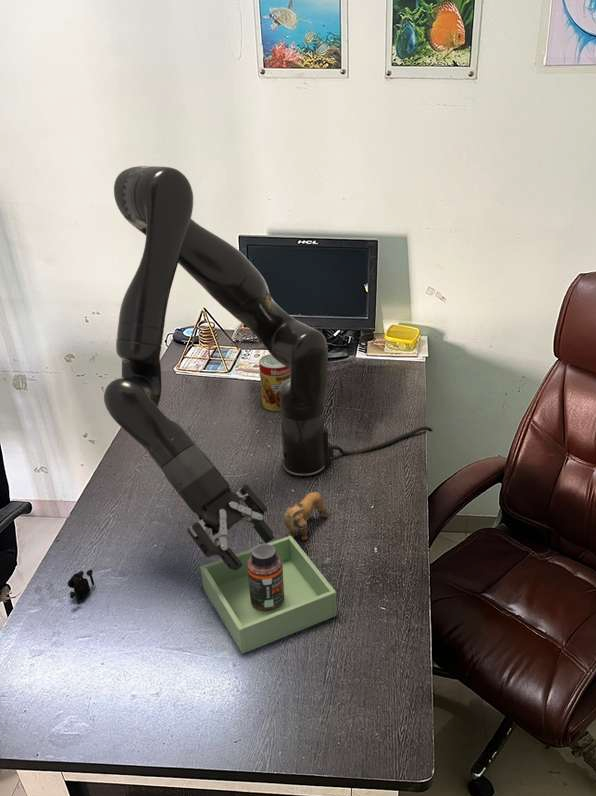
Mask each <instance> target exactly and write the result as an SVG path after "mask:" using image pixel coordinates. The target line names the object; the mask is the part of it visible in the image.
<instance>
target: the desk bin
mask: <svg viewBox="0 0 596 796" xmlns="http://www.w3.org/2000/svg"><path fill="white" fill-rule="evenodd" d="M267 544H269V545H272V546H273V547H274V548H275V550H276V554H277V555H278V556H279V557H280V558H281V560H282V567H283V584H284V600H283V602H282V604H281V605H280V606H279V607H277V608H275V609H272V610H260V609H257V608H256V607H254V606H253V605H252V603H251V599H250V590H249V579H248V569H247V563H248V560H249V559H250V557H251V556H252V549H253V548H250V549H247V550H243V551H241V552H238V553H236V554H235V553H234V554H235V555H236V556H237V558H238V559H239V560H240V561H241V563H242V567H240V568H239V569H238V570H236V571H235V570H233V569H230V568H228V566H227V565H226V564H225V563H224V561H223V560H222V559H221V558H220V559H218V560H216V561H212V562H209V563H206V564H204V565H200V574H201V581H202V586H203V591H204V592H205V594H206V596H207V598H208V599H209V601H210V602H211V604H212V606H213V608H214V609H215V611H216V613H217V614H218V616H219V618H220V620H221V621H222V622H223V625H224V626H225V627H226V630H227V631H228V633H229V634H230V636H231V638H232V640H233V641H234V643H235V645H236V647H237V648H238V649H239V651H240V653H241V654H242V655H244V654H246V653H248V652H251V651H253V650H255V649H258V648H260V647H263V646H265V645H268V644H271V643H273V642H275V641H278V640H280V639H283V638H285V637H288V636H290V635H293V634H295V633H298V632H300V631H303V630H305V629H308V628H310V627H312V626H315V625H318V624H320V623H322V622H325V621H327V620H329V619H332V618H335V617H337V591H336V590H335V589H334V587H333V586H332V585H331V584H330V582H329V581H328V580H327V579H326V577H325V576H324V575H323V574H322V572H321V571H320V570H319V569H318V568H317V566H316V565H315V563H314V562H313V561H312V560H311V559H310V557H309V556H308V555H307V554H306V552H305V551H304V550H303V548H301V546H300V545H299V544H298V542H297V541H296V539H294V538H293V537H292V536H285V537H282V538H280V539H277V540H274V541H273V540H272V541H270V542H268V543H267Z"/></svg>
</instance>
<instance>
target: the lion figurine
mask: <svg viewBox="0 0 596 796" xmlns="http://www.w3.org/2000/svg"><path fill="white" fill-rule="evenodd" d="M315 509H316V510H317V511H320V512H322V513H321V515H320V516H321V518H327V517H328V511H327V510H328V509H327V506H326V505H325V504H324V501H323V497H322V495H321V494H320V492H318V491H312V492H308V493H307V494H306V495H305V496H304V498H303V499H302V500H301V501H300V502H299V503H298V502H297V503H294V504H292V505H289V506H288V507H286V510H285V511H284V516H283V522H284V526H285V527H286V529H288V530H289V532H290V533H288V536H292V537H293V539H294V538H295V536H296V532H299V531H301V532H300V536H301V537H300V540H301V541H307V540H308V534H307V528H308V522H307V521H308V520H310V517H311V515H312V513H313V511H314V510H315ZM288 536H287V537H288Z"/></svg>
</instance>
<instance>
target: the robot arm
mask: <svg viewBox="0 0 596 796" xmlns="http://www.w3.org/2000/svg"><path fill="white" fill-rule="evenodd" d="M113 196H114V201H115V203H116V206H117V208H118V210H119V212H120V214H121V215H122V216H123V218H124V219H125V220H126V221H127V222H128V223H129V224H130V225H131V226H133V227H134V228H135V229H137V231H139V232H141V233H142V234H143V235H144V236H145V243H144V248H143V253H142V256H141V259H140V262H139V265H138V267H137V269H136V271H135V274H134V275H133V278H132V279H131V281H130V283H129V285H128V287H127V289H126V291H125V293H124V296H123V298H122V302H121V305H120V309H119V315H118V321H117V322H118V323H117V332H116V340H115V350H116V354H117V357H119V358H120V359H121V377H119V378H115V379H114V380H112V381H110V382H109V383H108V384H107V386H106V387H105V389H104V393H103V401H104V407H105V409H106V410H107V412H108V414H109V415H110V416H111V418H112V419H113V421H115V423H116V424H117V425H118V426H119V427H120V428H121V429H122V430H124V431H125V432H126V433H127V434H128V435H129V436H130V437H131V438H132V439H133V440H134V441H136V442H137V443H138V444H140V446H142V447H143V448H144V449H145V451H146V452H147V453H148V455H149V456H150V457H151V459H152V460H153V461H154V462H155V463H156V465H157V466H158V467H159V469H160V470H161V472H162V473H163V474H164V476H165V478H166V479H167V481H168V483H169V484H170V485H171V486H172V488H173V489H174V490H175V491H176V492H177V494H178V496H179V497H180V498H181V499H182V500H183V502H184V503H185V504H186V505H187V507H188V508H189V509H190V510H191V511H192V513H194V514H195V515H196V516H197V517H198V520H199V521H196V522H193V524H191V525H190V526H188V527H187V529H186V531H187V533H188V534H189V536H190V537H191V538H192V540H193V541H194V543H195V544H196V545H197V547H198V549H199V550H200V551H201V552H202V554H203V556H205V557H206V558H211V557H213V556H218V557H220V560H221V559H222V560H223V561H224V563H225V564H226V565H227V566H228V568H230V569H233V570H235V571H236V570H238V569H239V568H240V567H242V563H241V561H240V560H239V559H238V558H237V556H236V555H235V553H234V551H233V550H232V549H231V548H230V547H228V539H227V537H228V535H229V534H228V533H229V532H228V531H229V530H231V528H233V527H234V525H236V524H238V522H240V523H243V522H245V523H248V524H250V525H253V526H252V527H253V529H254V530H255V532H256V533H257V534H258V535H259V537H260V538H261V540H262V541H263V542H264V544H268V543H270V542H272V541H273V540H274V539H275V536H274V532H273V530H272V528H270V526H269V525H268V524H267V523H266V521H265V520H264V515H265V513H266V512H267V511H268V507H267V506H266V505H265V504H264V502H263V500H261V499H260V498H259V496H258V495H257V494H256V493H255V491H253V489H252V488H251V486H249V485H248V484H244V485H242V486H240V487H239V488H238V489H237V490H236V492H234V491H232V489H231V488H230V484H229V482H228V481H227V479H225V477H224V475H222V474H221V472H220V471H219V470H218V469H217V467H216V466H215V465H214V463H213V462H212V461H211V459H210V458H209V457H208V455H207V454H206V453H205V452H204V451H203V450H202V449H201V448H200V447H199V446H198V445H197V444H196V442H194V440H193V439H192V437H191V436H190V435H189V433H188V432H187V431H186V430H185V429H184V427H183V426H182V425H181V424H180V423H179V422H178V421H176V420H174V419H172V418H170V417H167V415H165V413H164V412H162V410H161V409H160V408H159V404H160V401H161V397H162V366H161V365H162V364H161V352H162V349H163V348H162V347H163V346H162V345H163V340H164V332H165V325H166V315H167V309H168V303H169V299H170V294H171V289H172V286H173V283H174V279H175V275H176V272H177V268H178V265H180V266H181V267H182V269H183V270H184V271H185V272H186V273H187V274H188V275H190V277H192V278H193V279H194V280H195V282H197V283H198V284H199V285H200V287H202V288H203V289H204V290H205V291H206V293H208V294H209V296H211V297H212V298H213V299H214V300H215V301H216V302H217V303H218V304H219V305H220V306H221V307H222V308H223V309H224V310H226V312H228V313H229V314H230V315H232V316H233V317H234V318H235V319H236V320H238V321H239V322H240V323H241V324H242V325H244V326H246V328H248V329H249V330H250V331H251V332H252V333H253V334H254V335H255V337H256V338H257V339H258V341H260V342H261V344H262V345H263V347H264V348H265V349H266V351H268V354H271V355H272V356H273V357H274V358H275V359H276V360H277V361H278V362H280V363H281V364H283V365H285V366H287V367H289V368H290V370H291V378H290V379H287V380H285V381H284V382H283V383H282V384H281V385H280V388H279V398H280V411H279V413H280V425H281V426H280V427H281V442H282V449H281V455H282V461H283V462H282V465H283V466H282V467H283V470H284V471H285V472H286V473H287V474H289V475H291V476H294V477H299V478H307V477H308V478H309V477H313V476H317V475H319V474H320V473H322V472H323V471H324V470H325V468H328V467H329V466H330V465H329V464H330V462H329V459H331V458H334V450H337V451H339V453H340V454H341V455H344V456H353V455H360V454H365V453H368V452H371V451H374V450H377V449H378V450H379V449H381V448H384V447H387V446H389V445H391V444H394V443H396V442H398V441H400V440H402V439H405V438H408V437H410V436H413V435H414V434H417V433H419V432H421V431H428V432H430V433H431V432H433V428H432V427H429V426H420V427H417V428H415V429H413V430H411V431H408V432H407V433H404V434H401V435H399V436H396V437H394V438H392V439H390V440H387V441H385V442H382V443H379V444H378V443H377V444H375V445H372V446H368V447H366V448H363V449H359V450H353V451H347V450H344V449H343V447H341V446H339V445H335V444H332V443H331V442H330V441H329V430H328V428H327V427H325V411H324V409H325V407H324V403H325V401H324V393H325V392H324V391H325V389H326V386H327V383H328V382H327V381H328V366H329V365H328V362H329V361H328V360H329V348H328V341H327V339H326V336H325V335H324V334H323V333H322V332H320V331H319V330H318V329H316V328H313V327H312V326H310V325H308V324H306V323H303V322H301V321H299V320H297V319H296V318H295V317H292V316H291V315H290V314H289V313H287V311H285V310H284V309H283V308H282V307H280V306H279V304H278V303H277V302H275V300H274V299H273V297H272V295H271V293H270V289H269V285H268V284H267V282H266V279H265V278H264V277H263V275H262V274H261V272H260V271H259V270H258V269H257V268H256V266H254V265H253V263H252V262H251V261H250V259H248V258H247V256H245V255H244V254H243V253H242V252H241V251H240V250H239V249H237V248H236V247H235V246H234V245H232V244H230V243H229V242H228V241H226V240H225V239H223V238H222V237H220V236H218V235H216V234H215V233H214V232H211V231H209V230H208V229H206V228H204V227H203V226H202V225H200V224H198V223H197V222H196V221H195V220H194V219H193V218H192V215H193V210H194V192H193V188H192V185H191V183H190V181H189V179H188V178H187V176H186V175H185V174H183V172H182V171H180V170H179V169H178V168H177V169H176V168H174V167H170V166H159V165H158V166H157V165H156V166H151V165H150V166H149V165H138V166H137V165H136V166H133V167H132V166H130V167H129V168H126V169H124V170H122V171H121V172H120V173H118V175H117V177H116V178H115V181H114V183H113ZM241 502H243V503H244V504H245V505H246V506H245V505H242V504H241ZM206 528H207V529H210V535H209V534H208V533H207V529H206Z"/></svg>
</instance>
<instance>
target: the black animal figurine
mask: <svg viewBox="0 0 596 796" xmlns="http://www.w3.org/2000/svg"><path fill="white" fill-rule="evenodd" d="M93 573H94V572H93V569H88V570H87V571H86V576H88V577H89V579H90V583H91V586H95V581H94V577H93ZM84 575H85V573H84V571H83V570H80V571H78V572H76V573H73V575H72V576H71V577H70V578H69V579H68V582H67V586H68V588H70V589H73V591H70V592H69V597H70V599H74V598H75V599H76V603H77V605H81V601H84V600H85V599H86V598H87V596H88V595H89V594H90V592H91V587H90V583H89V579H88V578H85V577H84Z"/></svg>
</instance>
